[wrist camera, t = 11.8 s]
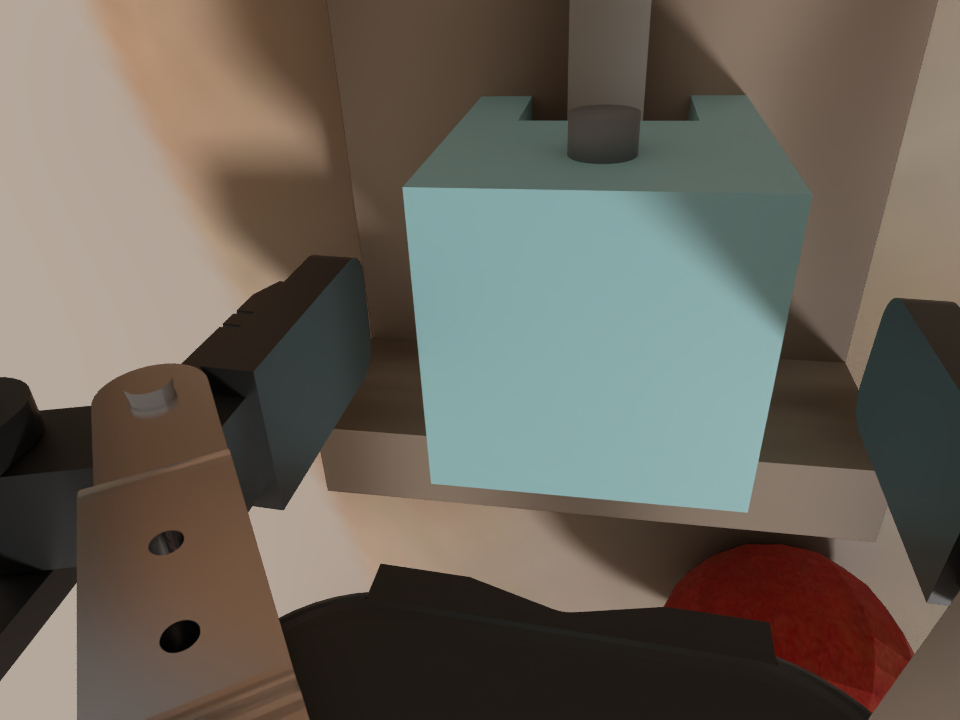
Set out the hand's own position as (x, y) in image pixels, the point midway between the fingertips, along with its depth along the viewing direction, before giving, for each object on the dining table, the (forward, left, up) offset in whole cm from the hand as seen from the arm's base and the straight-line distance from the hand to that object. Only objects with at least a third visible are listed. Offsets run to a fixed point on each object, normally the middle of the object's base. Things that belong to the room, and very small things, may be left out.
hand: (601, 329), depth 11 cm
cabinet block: (0, +1, -7) cm, 7 cm away
